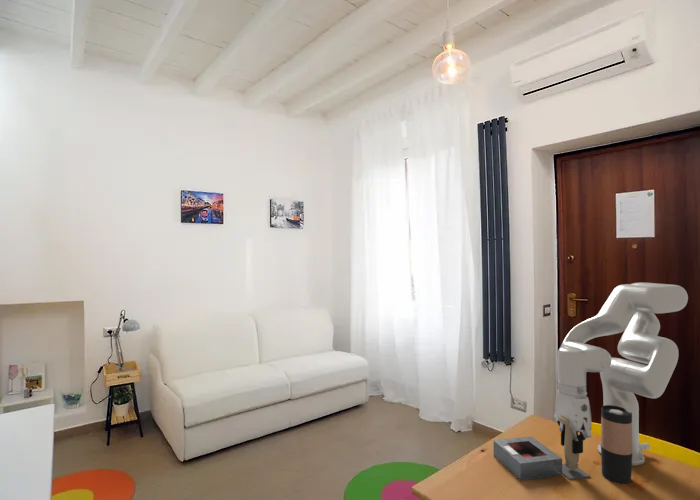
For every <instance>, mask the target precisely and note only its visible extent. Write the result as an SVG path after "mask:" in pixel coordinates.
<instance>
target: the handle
mask: <svg viewBox="0 0 700 500" xmlns="http://www.w3.org/2000/svg"><path fill="white" fill-rule="evenodd" d="M560 421H561V422H562V423H563V424H565V441H564V446H563V452H564V460H565V461H564V464H566V466H567V467H568V468H569V469H573V470H575V469H577V468H578V467H579V461H580V460H579V458H580V453H578V454H574V453H573V452H572V440H574V435H573V429H571V428H570V427H568V426H570V422H569V421H568V420H567V419H565V418H563V417H561V416H560Z"/></svg>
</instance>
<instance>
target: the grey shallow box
mask: <svg viewBox="0 0 700 500" xmlns="http://www.w3.org/2000/svg"><path fill="white" fill-rule="evenodd" d="M524 454H529V455H531V456H532V457H528V458H524V457H522V456H521V455H524ZM493 457H494V458H495V459H497V460H498V461H499V462H500V463H501V464H502V465H503V466H504V468H506V469H507V470H508V471H509V472H511V474H513V476H515V477H516V478H517V479H518V480H519V481H520V482H521V481H529V480H535V479H544V478H551V477H552V478H553V477H561V476H563V474H562V464H563V458H562V457H561V456H559V455H558V454H556V453H555V452H554V451H553V450H551V449H550V448H548V447H547V446H546V445H544V444H543V443H541V442H540V441H539V440H538V439H536V438H534V437H533V436H531V435H530V436H523V437H522V436H520V437H513V438H506V439H504V438H503V439H502V438H501V439H494V440H493Z"/></svg>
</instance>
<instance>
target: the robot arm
mask: <svg viewBox="0 0 700 500" xmlns="http://www.w3.org/2000/svg"><path fill="white" fill-rule="evenodd" d="M688 300H689V295H688V293H687V290H686V289H685V288H684V286H683V287H682V286H681V285H677V284H670V283H669V284H667V283H655V282H643V281H642V282H633V283H630V284H629V283H625V284H620V285H617V286H616V287H614V288H613V290H612V291H611V292H610V295H608V297H607V299H606V301H605V302H604V304H603V305H602V306H601V308H600V310H599V311H598V313H597V314H596V315H594V316H592V317H591V318H587V319H586V320H584V321H581V322H580V323H578V324H577V325H575V326H573V328H572V329H570V331H569V332H568V333H567V334H566V336H565V337H564V339H563V341H562V343H561V345H560V347H559V349H557V390H556V395H555V402H554V403H555V404H554V414H553V418H554V420H555V421H556V422H557V425H558V427H559V432H560V445H561V446H562V447H564V441H565V424H563V423H562V422H561V421H560V416H561V417H563V418H565V419H567V420H568V421H569V422H570V426H568V427H570V428H571V429H573V435H574V440H572V452H573V453H574V454H578V453H579V454H582V453H584V441H585V440H586V439H588V438H589V439H590V438H592V437H593V435H592V432H591V431H592V412H591V411H592V410H591V405H590V400H589V397H588V396H587V395H588V392H587V373H588V372H589V373H599V375H600V376H599V377H600V380H601V384H602V393H603V394H602V395H603V396H602V397H603V401H602V402H603V405H602V406H605V405H613V406H618V407H622V408H624V409H626V411H628V412H629V413H632V467H634V466H641V465H644V463H645V461H646V460H645V456H644V455H643V454H642V452H643V450H644V451H646V450H650V449H651V446H650V443H648V442H641V443H640V437H639V436H640V435H639V434H640V431H639V426H640V425H639V422H640V421H639V419H640V418H639V417H640V413H639V411H640V408H639V402H638V400H637V399H638V398H637V397H636V395H639V396H641V397H645V398H648V399H649V398H650V399H658V398H660V397H661V396H662V395H663V394H664V393H665V390H666V388H667V386H668V384H669V382H670V379H671V378H672V375H673V373H674V371H675V368H676V366H677V364H678V360H679V354H680V353H679V348H678V345H677V344H676V343H675V342H674V340H672V339H669V338H667V337H662V336H659V332H660V331H661V324H660V320H659V319H658V317H657V316H656V314H667V313H669V314H670V313H675V312H679V311H682V310H683V309H684V308H685V307H686V306H687V304H688ZM617 334H622V335H621V338H620V340H619V341H618V344H617V352H618V354H619V355H620V356H621V357H623V358H620V357H619V358H618V357H612V355H611V353H609V351H607V350H606V349H604V348H602V347H601V346H596V345H591V344H588V343H587V342H588V341H590V340H592V339H595V338H598V337H599V338H600V337H604V336H612V335H617ZM624 358H625V359H624ZM635 394H636V395H635ZM597 452H598V453H599V454H600V455H601V443H599V444H598V445H597Z"/></svg>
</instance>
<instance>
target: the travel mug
mask: <svg viewBox="0 0 700 500" xmlns="http://www.w3.org/2000/svg"><path fill="white" fill-rule="evenodd" d="M600 411H601V415H600V416H601V417H600V419H601V420H600V423H601V424H600V427H601V428H600V444H601V454H600V457H601V458H600V459H601V475H602V476H603V477H604V478H605V480H608V481H609V482H612V483H614V484H618V485H629V484H631V483H632V467H633V465H632V413H629V412H628V411H626V409H624V408H622V407H618V406H613V405H605V406H603V405H602V406H601V410H600Z"/></svg>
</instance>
